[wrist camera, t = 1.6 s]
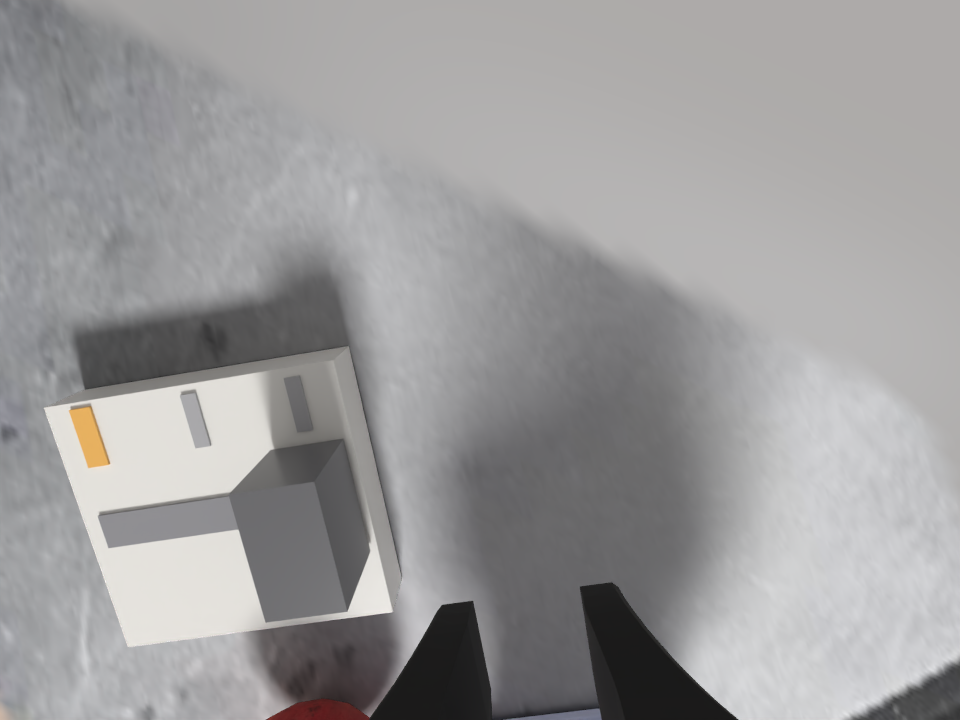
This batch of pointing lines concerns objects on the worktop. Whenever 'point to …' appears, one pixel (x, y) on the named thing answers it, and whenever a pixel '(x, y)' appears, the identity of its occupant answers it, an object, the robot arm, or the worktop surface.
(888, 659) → the worktop surface
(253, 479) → the fader knob
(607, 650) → the robot arm
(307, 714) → the onion
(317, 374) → the console
